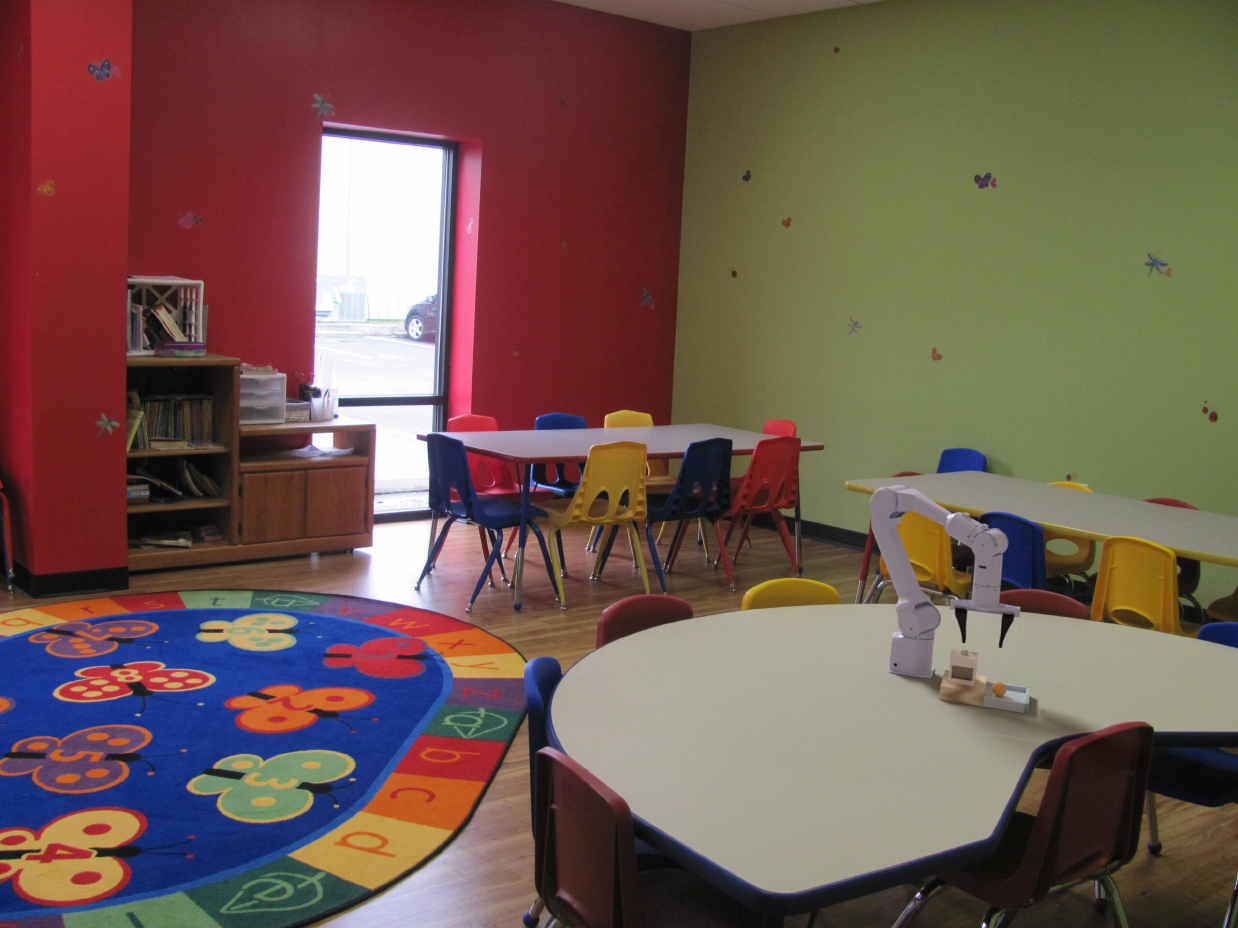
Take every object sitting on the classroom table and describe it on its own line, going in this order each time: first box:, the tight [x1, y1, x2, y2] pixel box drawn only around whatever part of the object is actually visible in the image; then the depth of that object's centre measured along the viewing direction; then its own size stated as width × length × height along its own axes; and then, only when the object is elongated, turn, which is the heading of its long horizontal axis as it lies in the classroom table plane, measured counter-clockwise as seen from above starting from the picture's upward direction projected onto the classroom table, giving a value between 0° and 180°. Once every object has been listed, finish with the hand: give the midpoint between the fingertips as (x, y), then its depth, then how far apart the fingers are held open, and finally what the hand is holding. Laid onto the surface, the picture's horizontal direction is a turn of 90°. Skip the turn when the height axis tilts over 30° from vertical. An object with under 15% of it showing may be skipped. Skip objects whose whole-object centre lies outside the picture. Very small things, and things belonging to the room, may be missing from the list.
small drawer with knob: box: [948, 648, 979, 686], centre depth 237 cm, size 5×5×7 cm
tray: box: [982, 680, 1031, 715], centre depth 234 cm, size 9×12×2 cm
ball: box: [992, 681, 1006, 696], centre depth 235 cm, size 3×3×3 cm
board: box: [938, 669, 988, 707], centre depth 238 cm, size 9×12×3 cm
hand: (982, 644), depth 240 cm, fingers open, 7 cm apart
